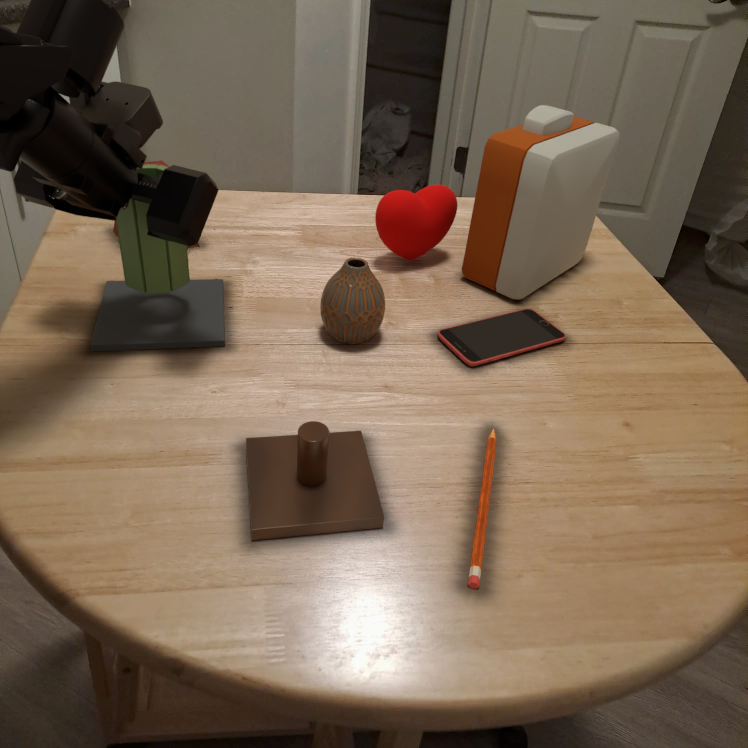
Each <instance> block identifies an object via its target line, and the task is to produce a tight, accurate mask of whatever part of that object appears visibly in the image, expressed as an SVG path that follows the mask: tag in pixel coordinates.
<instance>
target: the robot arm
mask: <svg viewBox="0 0 748 748" xmlns="http://www.w3.org/2000/svg"><path fill="white" fill-rule="evenodd" d="M27 5H28V6H27V8H26V10H25V12H24V15H23V17H22V19H21V21H20V23H19V26H18V28H17V31H16V32H14V31H12V30H11V29H10V28H9V27H6V26H4V25H2V24H0V170H2V171H6V172H9V173H10V172H13V171H15V169H16V167H17V165H18V162H19V160H20V163H19V165H18V168H17V170H16V173H15V175H14V177H13V184H14V187H15V192H16V194H17V195H19V196H20V197H22V198H24V199H25V200H27V201H28V202H30V203H32V204H37V205H41V206H44V207H48V208H51V209H54V210H56V211H60V212H64V213H67V214H71V215H74V216H79V217H84V218H85V217H86V218H94V219H100V220H106V221H114V222H115V221H116V217H117V216H118V213H119V211H120V209H126V208H127V207H128V204H129V200H130V199H133V200H136V201H140V202H144V203H148V204H150V205H149V209H148V211H147V214H146V220H147V229H148V233H147V235H149V236H152V237H156V238H160V239H163V240H167V241H171V242H176V243H179V244H183V245H187V246H190V247H189V248H192V247H191V246H192V245H194V244H196V243H198V244H199V241H200V239H201V237H202V234H203V231H204V229H205V226H206V223H207V222H208V219H209V216H210V214H211V211H212V208H213V206H214V203H215V201H216V198H217V195H218V193H219V187H218V185H217V183H216V182H215V180H213V178H212V177H211V176H210V175H209V174H208V173H207V172H205V171H200V170H195V169H191V168H187V167H183V166H180V165H175V164H171V165H170V166H169V167H168V168H166V169H164V172H163V173H162V174H160V175H159V176H158V177H153V176H149V175H145V174H142V173H138V172H136V170H137V168H142V167H143V165H144V162H146V160H147V157H148V156H147V154H146V153H144V151H143V150H141V148H142V147H144V146H145V144H146V143H147V142H148V141H149V140H150V139H151V137H152V136H153V135H154V133H155V132H156V131H157V130H160V128H161V127H162V126H163V124H164V120H163V117H162V115H161V112H160V109H159V108H158V105H157V103H156V101H155V99H154V95H153V93H152V91H151V90H150V88H148V87H145V86H141V85H136V84H131V83H126V82H123V81H122V82H121V81H115V80H114V81H110V82H106V81H103V79H104V77H105V75H106V72H107V69H108V67H109V65H110V63H111V60H112V59H113V55H114V53H115V51H116V48H117V46H118V44H119V41H120V39H121V37H122V35H123V32H124V29H125V22H124V20H123V18H122V16H121V15H120V13H119V12H118V10H116V8H115V7H113V6H112V5H109V4H107V2H105V1H103V0H30V1H29V3H28V4H27ZM64 97H67V98H68V99H69V100H68V101H69V102H68V101H67V99H65V98H64Z"/></svg>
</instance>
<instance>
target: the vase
mask: <svg viewBox="0 0 748 748" xmlns="http://www.w3.org/2000/svg"><path fill="white" fill-rule="evenodd" d="M320 297H321V298H320V307H319V308H320V316H321V321H322V325H323V326H324V329H325V330H326V331H327V333H328V334H329V335H330V336H331V337H332V338H334V339H335V340H336V341H338V342H340V343H343V344H347V345H357V344H362V343H364V342H366V341H368V340H369V339H371V338H372V337H373V336H374V335H376V333H377V332H378V331H379V329H380V327H381V326H382V324H383V321H384V317H385V312H386V297H385V292H384V289H383V286H382V284H381V283H380V281H379V280H378V278H377V277H376V276H375V274H374V273H373V272H372V270H371V268H370V265H369V262H368V261H367V260H366V259H364V258H360V257H349V258H347V259H345V260H344V262H343V264H342V265H341V267H340V268H339V269H338V270H337V271H335V273H334V274H333V275H332V276H331V277H330V278H329V279H328V281H327V282H326V284H325V286H324V288H323V290H322V293H321V296H320Z"/></svg>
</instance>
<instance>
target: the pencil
mask: <svg viewBox="0 0 748 748" xmlns="http://www.w3.org/2000/svg"><path fill="white" fill-rule="evenodd" d="M496 449H497V437H496V431H495V428H493V429H492V430H491V432H490V434H489V436H488V438H487V442H486V450H485V458H484V465H483V472H482V479H481V486H480V494H479V500H478V507H477V508H478V509H477V516H476V523H475V531H474V537H473V544H472V553H471V560H470V567H469V574H468V575H469V576H468V582H467V584H468V587H469V588H471V589H473V590H474V589H475V590H476V589H478V588H479V587H480V584H481V583H480V582H481V573H482V566H483V557H484V549H485V542H486V541H485V540H486V533H487V524H488V516H489V507H490V500H491V499H490V498H491V491H492V483H493V476H494V475H493V473H494V468H495V467H494V466H495V456H496Z"/></svg>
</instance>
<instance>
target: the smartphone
mask: <svg viewBox="0 0 748 748" xmlns="http://www.w3.org/2000/svg"><path fill="white" fill-rule="evenodd" d="M436 335H437V338H438V339H439V340H440V341H441V342H442V343H443V344H444V345H445V346H446V347H447V348H449V350H450V351H452V352H453V353H454V355H456V356H457V357H458V358H460V360H461V361H462V362H464V363H465V364H466V365H468V366H470V367H475V366H479V365H483V364H486V363H490V362H493V361H498V360H500V359H501V360H502V359H504V358H508V357H511V356H514V355H515V356H516V355H519V354H523V353H525V352H529V351H533V350H536V349H539V348H543V347H547V346H551V345H553V344H559V343H560V342H563V341H565V340H566V338H567V335H566V333H564V332H563V331H562V330H561V329H560V328H559V327H557V326H556V325H554V324H553V323H552V322H550V321H549V320H548V319H547V318H545V317H544V316H542V315H541V314H540V313H538V312H537V311H535V310H534V309H532V308H523V309H519V310H514V311H511V312H507V313H503V314H499V315H498V314H497V315H494V316H490V317H486V318H482V319H478V320H473V321H470V322H465V323H462V324H458V325H454V326H450V327H445V328H441V329H439V330H438V331H437V334H436Z"/></svg>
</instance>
